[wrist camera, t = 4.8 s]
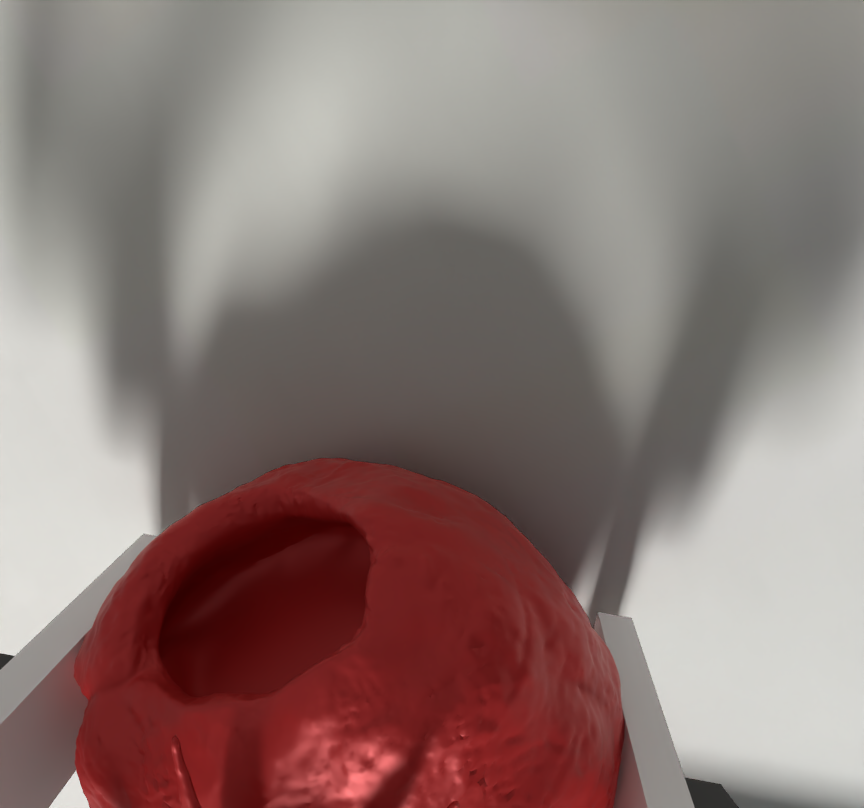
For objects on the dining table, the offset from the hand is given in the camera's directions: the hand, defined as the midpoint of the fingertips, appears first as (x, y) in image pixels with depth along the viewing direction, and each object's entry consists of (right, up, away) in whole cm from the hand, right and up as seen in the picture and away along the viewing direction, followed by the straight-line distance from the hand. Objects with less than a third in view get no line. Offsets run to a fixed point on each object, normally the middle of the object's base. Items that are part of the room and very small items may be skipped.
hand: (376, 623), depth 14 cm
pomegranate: (0, 0, +1) cm, 1 cm away
